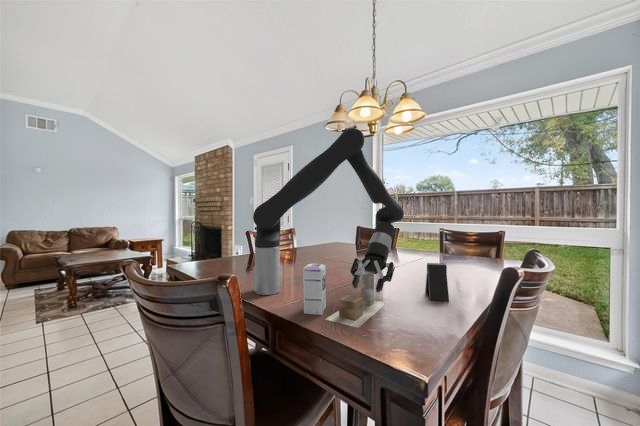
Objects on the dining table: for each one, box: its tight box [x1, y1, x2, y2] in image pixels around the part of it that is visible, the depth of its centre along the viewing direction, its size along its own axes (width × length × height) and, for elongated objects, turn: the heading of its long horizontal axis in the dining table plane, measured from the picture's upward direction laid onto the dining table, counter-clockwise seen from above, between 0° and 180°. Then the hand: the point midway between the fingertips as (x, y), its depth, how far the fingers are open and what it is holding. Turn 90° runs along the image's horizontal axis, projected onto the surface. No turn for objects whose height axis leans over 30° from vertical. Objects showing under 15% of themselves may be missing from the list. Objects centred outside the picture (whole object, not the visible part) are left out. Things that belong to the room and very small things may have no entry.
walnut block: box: [338, 294, 363, 321], centre depth 77 cm, size 5×5×5 cm
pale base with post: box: [324, 271, 387, 329], centre depth 81 cm, size 10×22×11 cm, turn 147°
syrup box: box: [302, 263, 327, 316], centre depth 81 cm, size 6×6×14 cm
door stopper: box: [424, 262, 450, 302], centre depth 96 cm, size 9×6×12 cm, turn 169°
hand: (365, 288), depth 85 cm, fingers open, 7 cm apart
